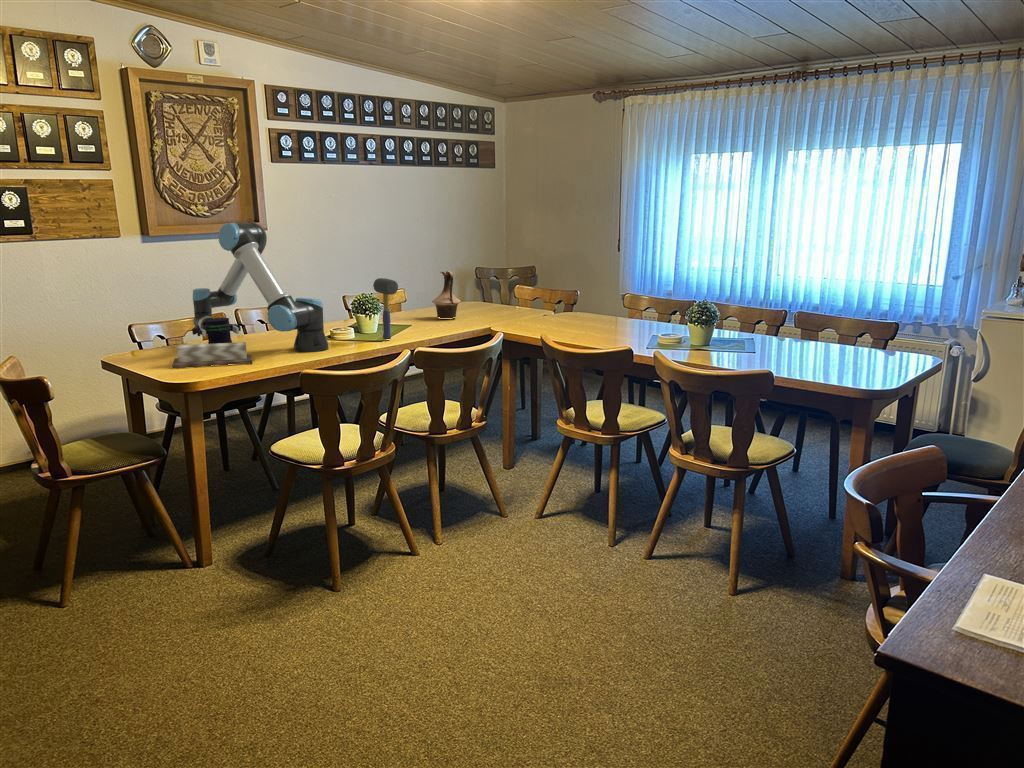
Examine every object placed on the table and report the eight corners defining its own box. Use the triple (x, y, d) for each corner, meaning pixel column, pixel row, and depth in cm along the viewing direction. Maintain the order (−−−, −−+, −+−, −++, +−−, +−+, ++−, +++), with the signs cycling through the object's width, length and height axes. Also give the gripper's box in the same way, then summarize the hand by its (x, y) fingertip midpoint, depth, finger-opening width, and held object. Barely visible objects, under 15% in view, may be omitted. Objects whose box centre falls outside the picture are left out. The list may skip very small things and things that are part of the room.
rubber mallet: (373, 339, 357) (371, 277, 350) (386, 337, 362) (385, 277, 355) (387, 343, 348) (385, 280, 341) (400, 341, 353) (399, 279, 346)
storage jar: (204, 355, 316) (199, 320, 312) (220, 350, 325) (216, 317, 321) (222, 355, 312) (217, 321, 309) (238, 351, 321) (234, 317, 318)
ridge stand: (251, 357, 312) (250, 340, 310) (252, 364, 299) (251, 346, 297) (174, 361, 301) (173, 343, 299) (172, 368, 289) (170, 350, 287)
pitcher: (466, 320, 421) (466, 271, 415) (439, 322, 413) (439, 272, 406) (453, 316, 436) (453, 268, 429) (427, 317, 428) (426, 269, 421)
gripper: (238, 331, 338) (251, 338, 322) (180, 336, 324) (191, 343, 308) (236, 315, 337) (250, 321, 320) (178, 319, 322) (190, 326, 306)
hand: (221, 332), depth 314 cm, fingers open, 13 cm apart
